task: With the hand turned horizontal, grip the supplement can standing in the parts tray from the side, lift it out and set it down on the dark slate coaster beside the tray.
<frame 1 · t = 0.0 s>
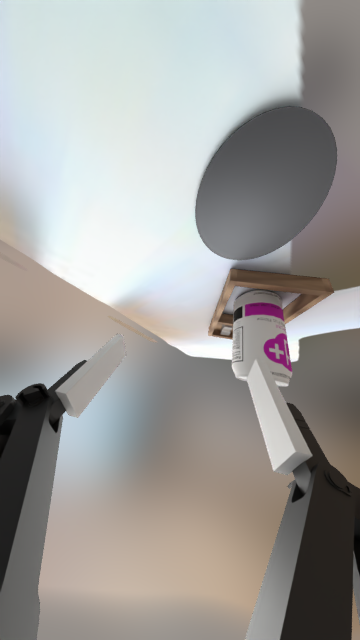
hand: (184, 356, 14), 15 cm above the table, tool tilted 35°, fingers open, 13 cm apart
supplement can: (255, 300, 28), resting in parts tray
parts tray: (246, 312, 32), on the table
coaster: (251, 210, 15), on the table
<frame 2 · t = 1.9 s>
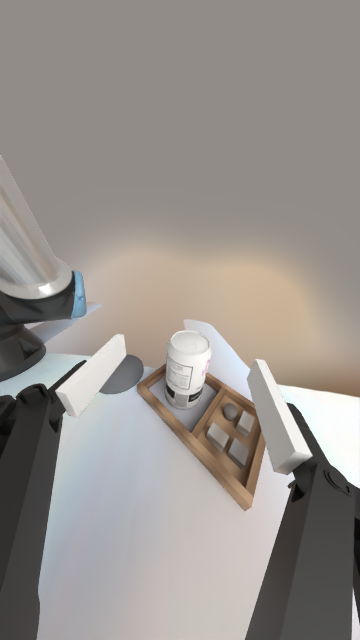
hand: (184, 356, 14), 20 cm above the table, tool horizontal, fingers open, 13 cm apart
supplement can: (182, 393, 32), resting in parts tray
parts tray: (198, 406, 29), on the table
coaster: (119, 371, 35), on the table
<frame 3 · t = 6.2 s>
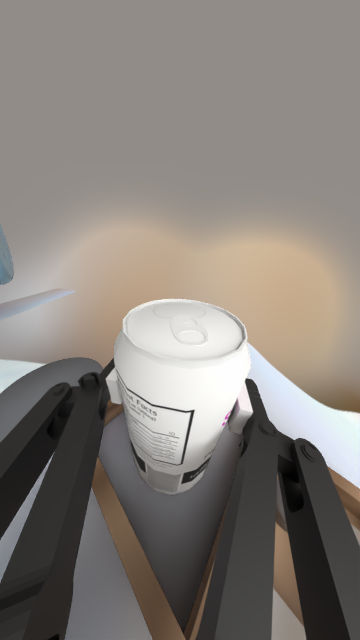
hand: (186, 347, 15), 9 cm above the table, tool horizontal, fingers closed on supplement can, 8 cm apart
supplement can: (172, 438, 15), resting in parts tray, touching gripper
parts tray: (207, 477, 13), on the table
coaster: (55, 390, 19), on the table
when the fingers open (10 cm above the table, at t = 11.4 s): supplement can stays where it is, resting on coaster.
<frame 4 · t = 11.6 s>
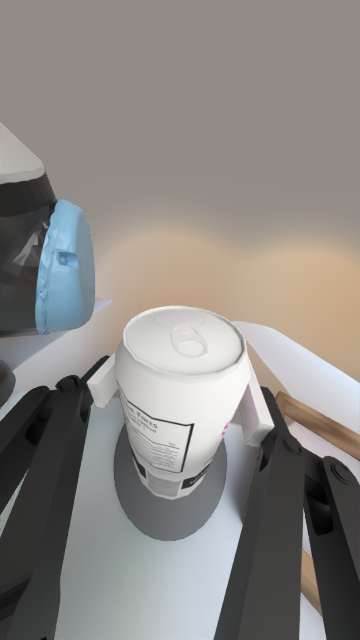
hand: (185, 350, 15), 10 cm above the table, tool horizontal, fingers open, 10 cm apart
supplement can: (172, 442, 15), resting on coaster
coaster: (172, 441, 16), on the table
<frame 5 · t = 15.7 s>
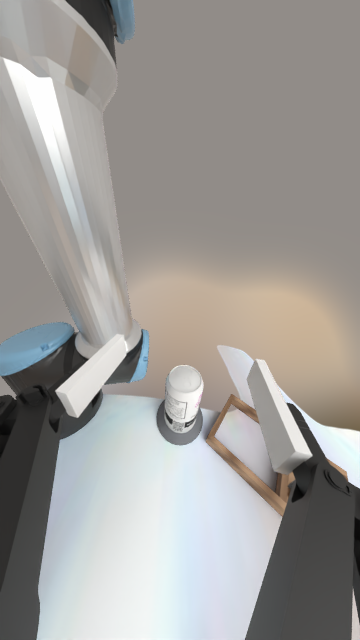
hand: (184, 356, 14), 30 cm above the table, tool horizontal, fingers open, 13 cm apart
supplement can: (179, 416, 36), resting on coaster
parts tray: (268, 457, 30), on the table
coaster: (179, 416, 36), on the table
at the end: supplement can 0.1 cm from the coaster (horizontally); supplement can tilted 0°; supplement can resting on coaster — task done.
